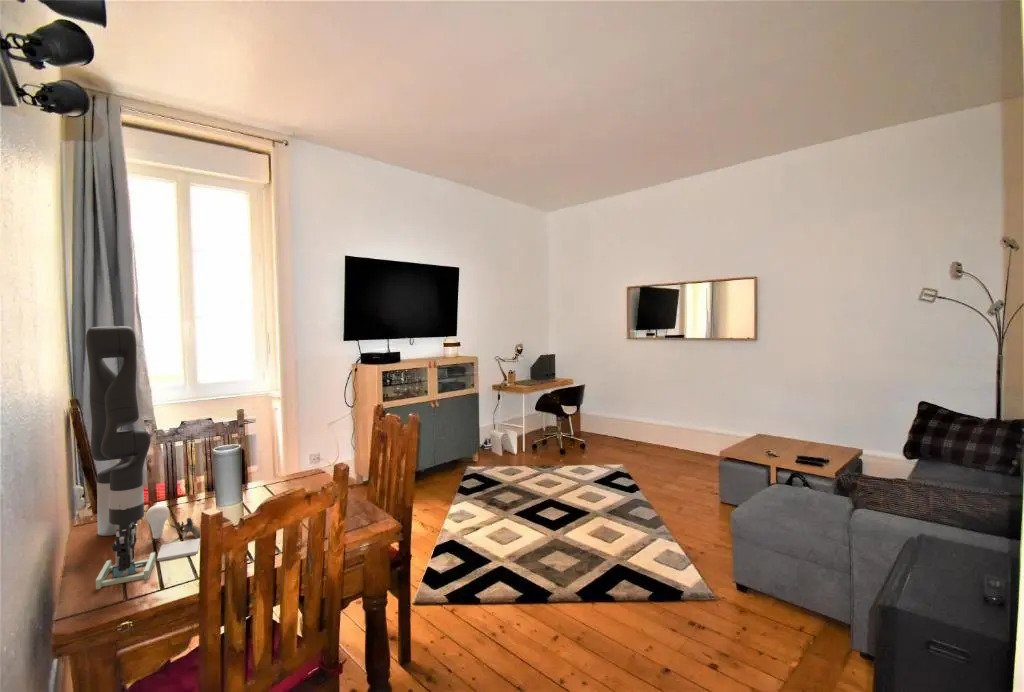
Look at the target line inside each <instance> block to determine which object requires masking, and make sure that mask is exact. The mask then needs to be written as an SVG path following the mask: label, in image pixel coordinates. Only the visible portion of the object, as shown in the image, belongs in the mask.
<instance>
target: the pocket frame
mask: <svg viewBox="0 0 1024 692" xmlns="http://www.w3.org/2000/svg"><path fill="white" fill-rule="evenodd" d="M155 562H156V551H154V552H153V551H152V552H150V554H149V557H148V559H143V560H138V561H134V563H135V565H139V564H142V565H141V566H140V567H143V566H145V568H144V569H143V572H142V573H137V574H130V575H127V576H124V577H123V576H122V577H119V578H115V579H114V578H111V579H107V577H108V575H109V574H110V572H113V567H114V565H112V559H109V560H106V561H105V563H104V565H103V566H102V568H101V569H100V572H99V573H98V576H97V577H96V578H95V590H101V588H102V587H108V586H112V585H118V584H121V583H123V584H124V583H128V582H133V581H137V580H143V581H146V580H149V579H150V576H151V573H152V570H153V568H154V565H155Z"/></svg>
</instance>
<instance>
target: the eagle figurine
mask: <svg viewBox="0 0 1024 692" xmlns="http://www.w3.org/2000/svg"><path fill="white" fill-rule="evenodd" d="M170 526H171V527H172V528H173V529H174V528H175V529H177V530H178V531H179V532H180V533H181V535H183V536H182V540H184V539H185V538H187V536H188V533H190V532H191V533H192V534H193V535H194V537H195V538H194V539H199V538H200V528H201V527H200V526H199V527H198V526H195V525H194V522H193V520H192V518H191V517H186V523H184V521H181V524H180V522H179V521H177V522H176V525H173V524H171V523H170ZM200 539H201V538H200Z"/></svg>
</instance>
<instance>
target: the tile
mask: <svg viewBox="0 0 1024 692" xmlns="http://www.w3.org/2000/svg"><path fill="white" fill-rule="evenodd" d="M200 545H201V538H199V539H198V538H197V539H196V538H194V539H187V540H183V541H178V542H172V543H171V542H170V543H166V544H161V546H160V548H159V552H158V554H157V558H156V562H159V561H165V560H171V559H177V558H182V557H188V556H193V555H198V554H199V551H200V550H199V549H200Z"/></svg>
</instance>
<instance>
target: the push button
mask: <svg viewBox="0 0 1024 692" xmlns="http://www.w3.org/2000/svg"><path fill="white" fill-rule="evenodd" d="M129 542H130V541H129ZM136 542H137V539H134V543H133V545H131V566H130V568H127V569H120V557H117V549H116V541H115V540H114V542H112V543H111V544H110V546H111V548H112V552H115V564H113V566H114V567H113V571H112V577H113V579H115V578H120V577H126V576H130V575H134V574H135V573H136V571H138V570H142V569H143V566H141V565H142V564H139V565H135V563H134V562H135V560H134V559H133V560H132V548H133V547H134V548H135V546H136ZM122 551H126V549H122Z"/></svg>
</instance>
